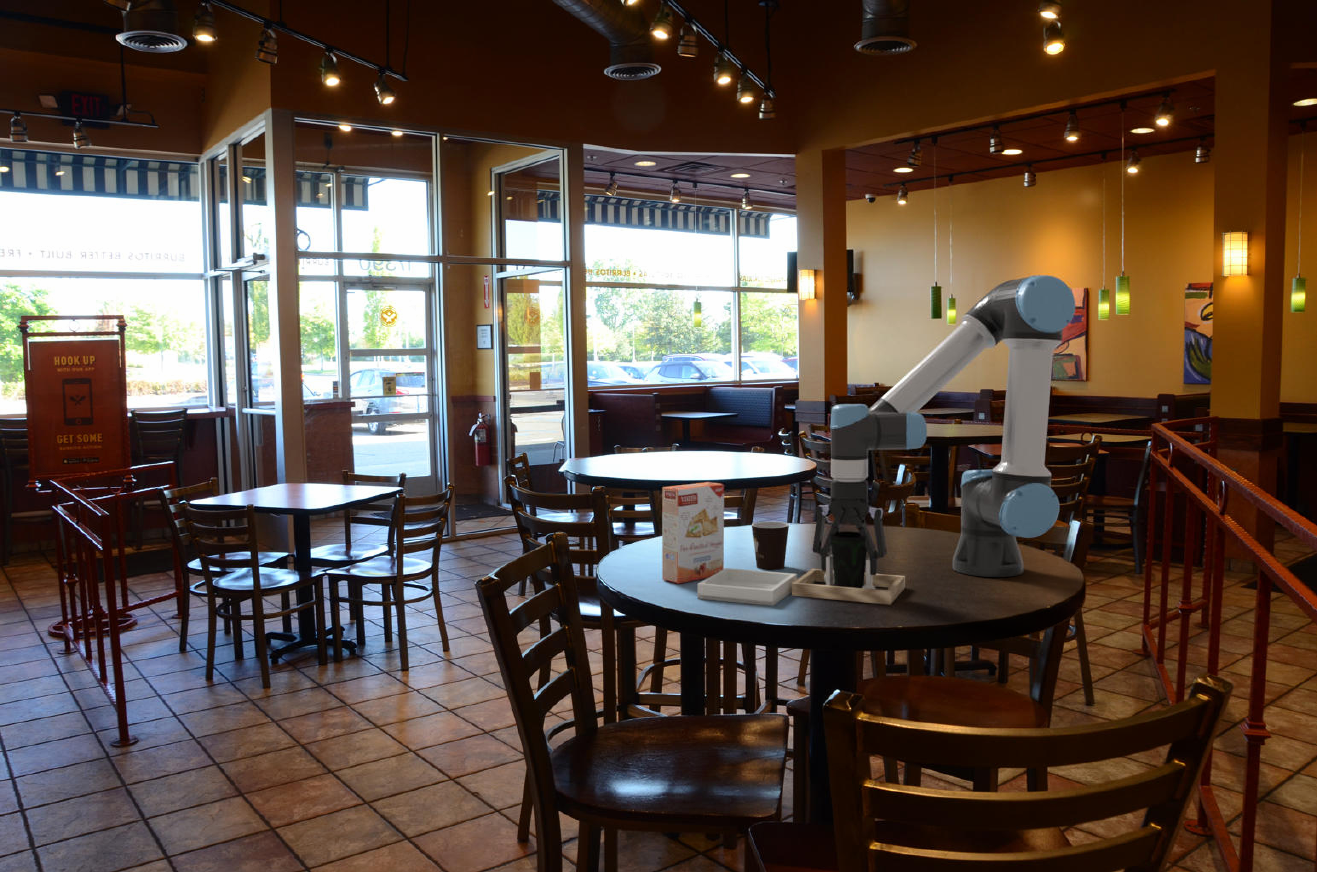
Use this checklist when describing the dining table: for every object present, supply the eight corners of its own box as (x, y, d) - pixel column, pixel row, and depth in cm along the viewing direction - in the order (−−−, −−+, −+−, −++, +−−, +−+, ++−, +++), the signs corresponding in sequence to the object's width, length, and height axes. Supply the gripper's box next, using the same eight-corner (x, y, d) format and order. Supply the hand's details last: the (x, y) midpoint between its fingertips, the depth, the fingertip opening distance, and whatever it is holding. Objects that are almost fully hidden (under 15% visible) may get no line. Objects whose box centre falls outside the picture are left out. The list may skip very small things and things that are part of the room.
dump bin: (796, 587, 201) (796, 574, 201) (772, 605, 187) (772, 590, 187) (725, 581, 208) (725, 568, 208) (697, 598, 194) (697, 583, 193)
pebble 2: (877, 597, 192) (877, 582, 192) (874, 601, 189) (874, 586, 189) (862, 596, 193) (862, 581, 193) (859, 599, 191) (859, 584, 191)
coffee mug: (787, 571, 217) (787, 528, 216) (750, 570, 219) (749, 527, 218) (791, 561, 228) (790, 519, 228) (755, 560, 230) (754, 519, 229)
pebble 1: (839, 584, 204) (839, 570, 204) (836, 587, 201) (836, 573, 201) (825, 582, 205) (826, 569, 205) (822, 585, 203) (822, 572, 203)
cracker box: (679, 585, 206) (678, 489, 204) (661, 580, 210) (660, 486, 208) (726, 575, 215) (725, 483, 213) (707, 570, 219) (706, 480, 217)
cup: (841, 585, 203) (841, 529, 202) (874, 590, 198) (874, 533, 197) (823, 592, 197) (823, 535, 196) (857, 597, 192) (857, 539, 191)
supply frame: (904, 587, 200) (905, 576, 200) (890, 604, 186) (890, 592, 186) (812, 579, 208) (812, 568, 208) (792, 595, 195) (792, 583, 195)
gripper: (903, 479, 195) (902, 588, 196) (806, 475, 203) (806, 580, 205) (896, 483, 188) (895, 597, 190) (795, 479, 197) (796, 588, 198)
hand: (849, 588), depth 197 cm, fingers closed on cup, 8 cm apart
